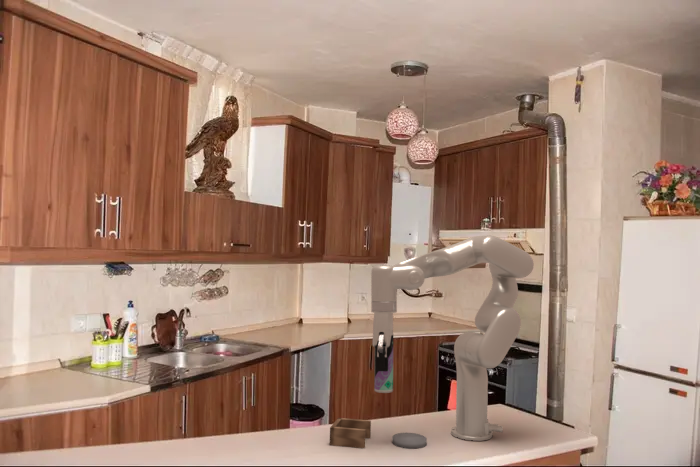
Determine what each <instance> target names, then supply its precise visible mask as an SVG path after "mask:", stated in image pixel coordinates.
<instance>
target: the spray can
mask: <svg viewBox="0 0 700 467" xmlns="http://www.w3.org/2000/svg"><path fill="white" fill-rule="evenodd" d="M377 343H378V342H377ZM375 346H376V347H374V392H376V393H380V394H381V393H382V394H389V393H393V391H394V330H393V331H392V334H391V342H390V346H389V347H387V357H388V371H387V372H386V371H377V350H378V344H377V345H375ZM383 346H386V345H383ZM384 350H385V349H384Z"/></svg>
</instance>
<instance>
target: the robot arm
mask: <svg viewBox="0 0 700 467" xmlns="http://www.w3.org/2000/svg"><path fill="white" fill-rule="evenodd" d="M478 264H488V268H489V271H490V275H491V278H492V286H491V288H490V291H489V293H488V294H487V296H486V298H485V299H484V301H483V302H482V304H481V306H480V307H479V309H478V310H477V312H476V315H475V318H474V325H475V327H476V329H477V330H478V331H480V332H482V333H484V334H482V333H479V332H473V331H466V332H464V333H461V334H460V335H459V336H457V338H456V339H455V342H454V346H453V352H454V358H455V359H454V360H455V366H456V367H455V368H456V390H455V392H456V394H455V395H456V397H455V399H456V404H455V407H456V409H455V412H456V413H455V426H453V427H452V428H451V429H450V434H451V435H452V436H454V437H456V438H457V437H458V438H457V439H461V440H464V439H465V441H471V440H473V441H475V442H477V441H479V442H482V441H487V440H490V439H491V438H492V437H493V432H495V433H503V430H504V427H503V425H499V424H497V423H491V422H489V418H488V403H489V402H488V399H489V398H488V392H489V390H488V386H489V377H488V370H487V369H494V368H496V367H498V366H499V365H500V364H501V363H502V362H503V361H504V359H505V357H506V355H507V354H508V352H509V350H510V349H511V347H512V345H513V344H514V342H515V340H516V338H517V337H518V334H519V332H520V330H521V326H522V321H521V316H520V314H519V312H518V311H517V310H516V309H515V308H513V307H514V306H515V304H516V301H517V299H518V296H519V295H518V294H519V289H518V288H519V287H518V283H517V279H523V278H527V277H528V276H530V275H531V274H532V273H533V269H534V259H533V258H532V256H531V254H530V253H528V252H527V251H525V250H523V249H522V248H520V247H518V246H516V245H514V244H512V243H511V242H508V241H507V240H504V239H503V238H500V237H497V236H495V235H476V236H472V237H470V238H466V239H464V240H461V241H458V242H456V243H453V244H451V245H448V246H445V247H443V248H439V249H436V250H433V251H431V252H427V253H424V254H422V255H417V256H415V257H412V258H409V259H407V260H404V261H401V262H398V263H397V264H395V265H374V266H372V268H371V273H370V275H371V277H370V278H371V279H370V280H371V282H370V283H371V285H370V286H371V289H370V291H371V293H370V296H371V301H370V302H371V303H370V304H371V306H370V308H371V309H370V310H371V313H372V314H373V323H372V346H373V347H374V348H375V347H376V346H375V345H377V344H378V350H377V371H386V372H387V371H388V357H387V347H389V346H390V342H391V334H392V331H393V332H394V314H395V313H397V312H398V305H397V303H398V302H397V300H398V297H397V295H398V293H397V290H406V291H414V290H415V291H416V290H417V289H419V288H421V287H422V286H423V285H424V282H425V280H426V279H429V278H436V277H447V276H451V275H454V274H456V273H458V272H461V271H463V270H466V269H468V268H471V267H474V266H476V265H478ZM377 342H378V343H377ZM383 345H386V346H383ZM384 349H385V350H384Z"/></svg>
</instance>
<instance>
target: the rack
mask: <svg viewBox="0 0 700 467" xmlns="http://www.w3.org/2000/svg"><path fill="white" fill-rule="evenodd" d="M371 429H372V420H368V419H357V418H356V419H355V418H344V417H337V419H335V421H334V422H333V423H332V425H331V426H330V427H329V446H334V447H345V448H356V449H357V448H358V449H365V448H366V439H371V434H372V432H371V431H372V430H371Z"/></svg>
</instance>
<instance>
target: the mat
mask: <svg viewBox="0 0 700 467" xmlns="http://www.w3.org/2000/svg"><path fill="white" fill-rule="evenodd" d="M391 442H392V444H393V445H394V446H396V447H398V448H402V449H409V450H410V449H411V450H412V449H413V450H414V449H415V450H416V449H423V448H424V447H426V446H427V437H426V436H424V435H422V434H420V433H416V432H400V433H395V434H394V435H392V441H391Z"/></svg>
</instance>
